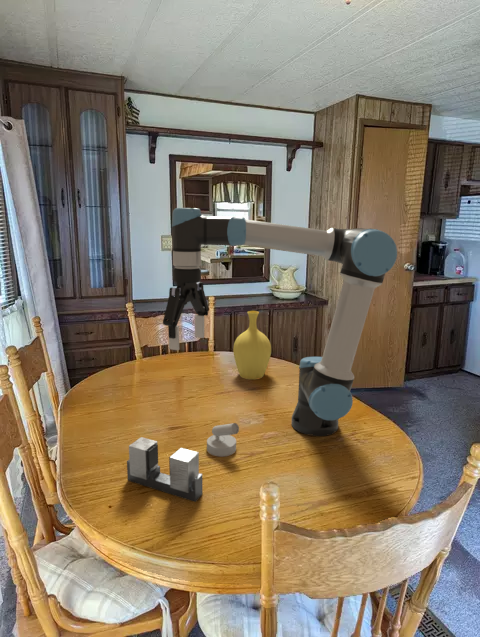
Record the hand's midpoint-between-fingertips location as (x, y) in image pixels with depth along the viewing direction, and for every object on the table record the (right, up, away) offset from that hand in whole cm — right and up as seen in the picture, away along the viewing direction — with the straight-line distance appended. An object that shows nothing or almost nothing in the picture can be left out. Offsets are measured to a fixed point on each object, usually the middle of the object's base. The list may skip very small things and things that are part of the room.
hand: (187, 343), depth 122 cm
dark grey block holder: (-4, -35, -13) cm, 38 cm away
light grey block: (-10, -32, -11) cm, 35 cm away
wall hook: (+10, -32, +6) cm, 34 cm away
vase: (+20, -18, +67) cm, 72 cm away
